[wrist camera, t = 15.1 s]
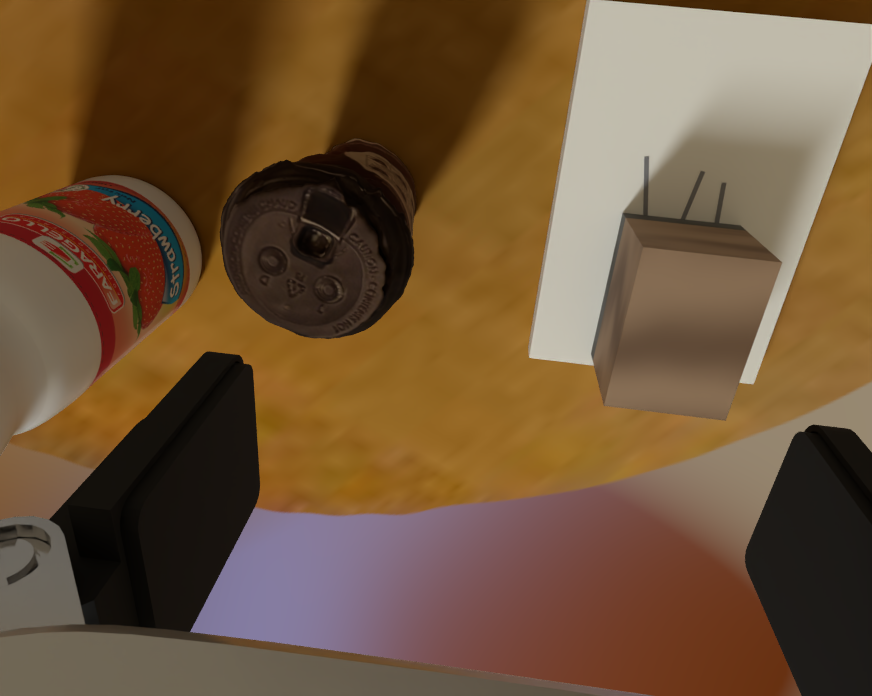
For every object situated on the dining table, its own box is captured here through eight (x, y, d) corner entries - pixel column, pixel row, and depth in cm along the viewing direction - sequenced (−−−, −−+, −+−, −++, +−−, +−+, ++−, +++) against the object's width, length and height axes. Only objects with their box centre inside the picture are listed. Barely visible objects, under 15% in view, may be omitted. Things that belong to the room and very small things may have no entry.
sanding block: (622, 212, 35) (643, 247, 30) (740, 225, 35) (782, 262, 30) (590, 353, 40) (604, 405, 34) (695, 366, 39) (725, 420, 34)
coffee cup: (403, 93, 35) (352, 128, 24) (460, 228, 38) (441, 317, 27) (270, 155, 37) (166, 215, 26) (335, 278, 41) (268, 379, 29)
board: (586, -1, 32) (590, -1, 31) (869, 25, 32) (885, 25, 30) (528, 346, 42) (529, 357, 40) (745, 372, 41) (753, 384, 39)
